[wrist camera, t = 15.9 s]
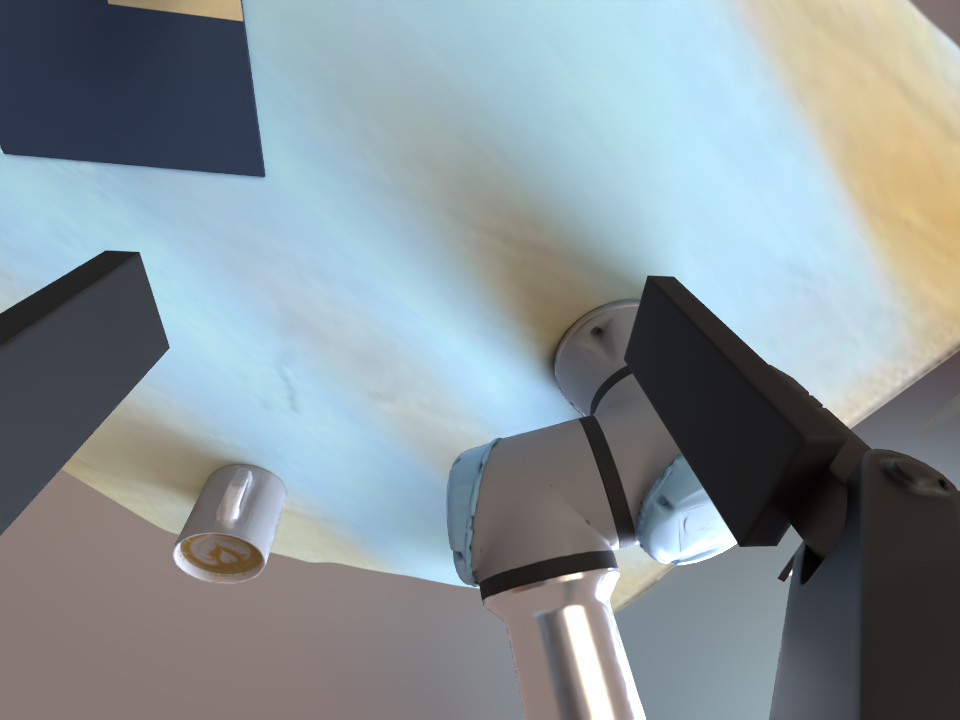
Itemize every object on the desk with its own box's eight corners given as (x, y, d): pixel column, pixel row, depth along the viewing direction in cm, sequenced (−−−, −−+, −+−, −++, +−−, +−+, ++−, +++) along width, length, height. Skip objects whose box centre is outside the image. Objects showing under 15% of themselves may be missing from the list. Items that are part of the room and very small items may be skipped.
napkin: (265, 176, 41) (264, 177, 41) (6, 152, 38) (2, 154, 38) (221, -152, 30) (219, -154, 30) (-147, -217, 27) (-154, -220, 27)
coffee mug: (273, 522, 66) (251, 591, 58) (197, 503, 63) (163, 573, 55) (306, 461, 60) (287, 528, 52) (225, 436, 57) (190, 503, 49)
